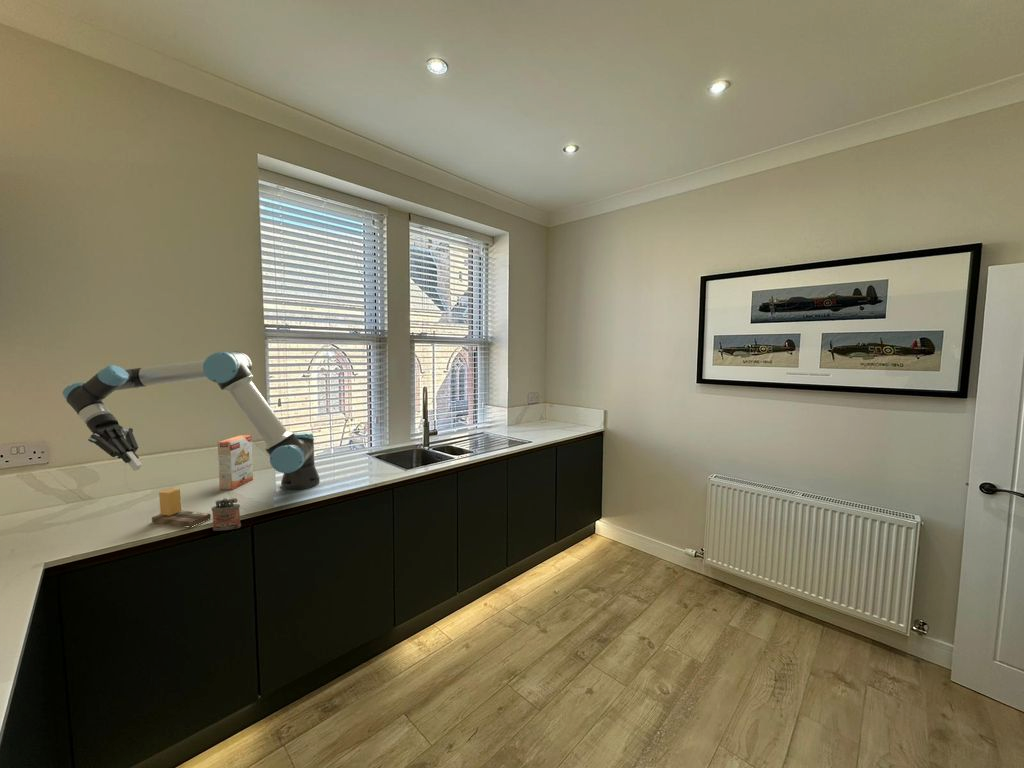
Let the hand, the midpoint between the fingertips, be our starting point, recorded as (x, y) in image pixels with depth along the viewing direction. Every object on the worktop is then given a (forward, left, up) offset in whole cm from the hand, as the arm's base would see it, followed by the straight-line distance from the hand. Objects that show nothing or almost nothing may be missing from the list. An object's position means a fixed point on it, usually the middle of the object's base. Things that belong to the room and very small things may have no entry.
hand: (138, 467), depth 145 cm
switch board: (-14, +12, -18) cm, 25 cm away
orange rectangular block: (-10, +9, -15) cm, 21 cm away
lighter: (-29, +25, -18) cm, 42 cm away
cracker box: (-26, -25, -18) cm, 40 cm away
